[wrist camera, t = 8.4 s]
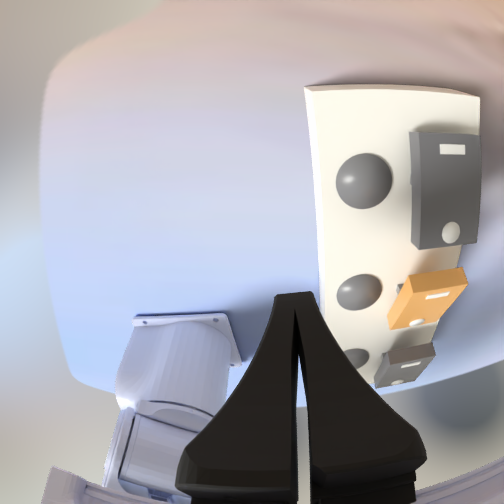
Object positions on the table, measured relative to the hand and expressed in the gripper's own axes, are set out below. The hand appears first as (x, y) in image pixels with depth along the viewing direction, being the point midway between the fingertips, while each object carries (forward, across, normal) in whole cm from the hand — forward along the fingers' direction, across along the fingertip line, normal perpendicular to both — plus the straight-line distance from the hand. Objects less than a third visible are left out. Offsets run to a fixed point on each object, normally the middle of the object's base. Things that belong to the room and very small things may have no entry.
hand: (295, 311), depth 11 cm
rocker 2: (+5, -9, +6) cm, 12 cm away
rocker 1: (+5, -9, -2) cm, 11 cm away
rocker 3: (+5, -9, +14) cm, 17 cm away
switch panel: (+10, -7, +8) cm, 15 cm away
